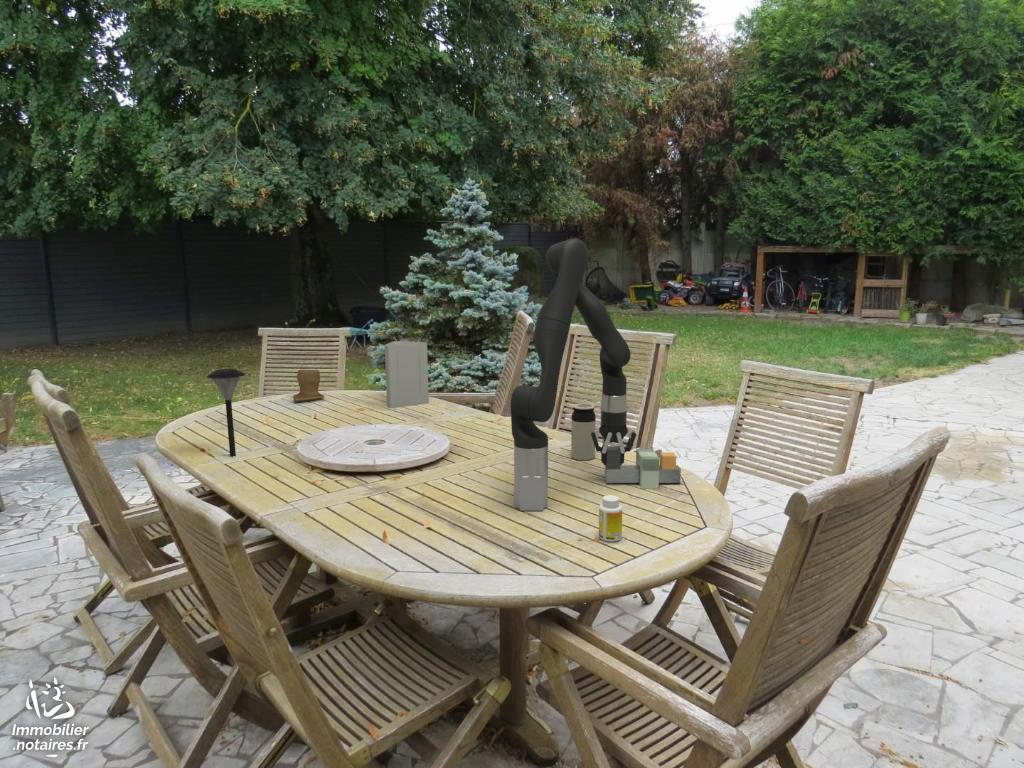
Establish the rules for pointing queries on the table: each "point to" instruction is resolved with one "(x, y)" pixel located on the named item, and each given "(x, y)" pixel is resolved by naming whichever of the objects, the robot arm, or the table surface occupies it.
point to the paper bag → (406, 373)
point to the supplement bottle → (610, 519)
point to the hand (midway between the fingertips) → (612, 464)
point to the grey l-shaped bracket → (633, 470)
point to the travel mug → (583, 431)
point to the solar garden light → (227, 397)
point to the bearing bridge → (648, 468)
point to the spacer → (667, 460)
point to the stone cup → (308, 386)
